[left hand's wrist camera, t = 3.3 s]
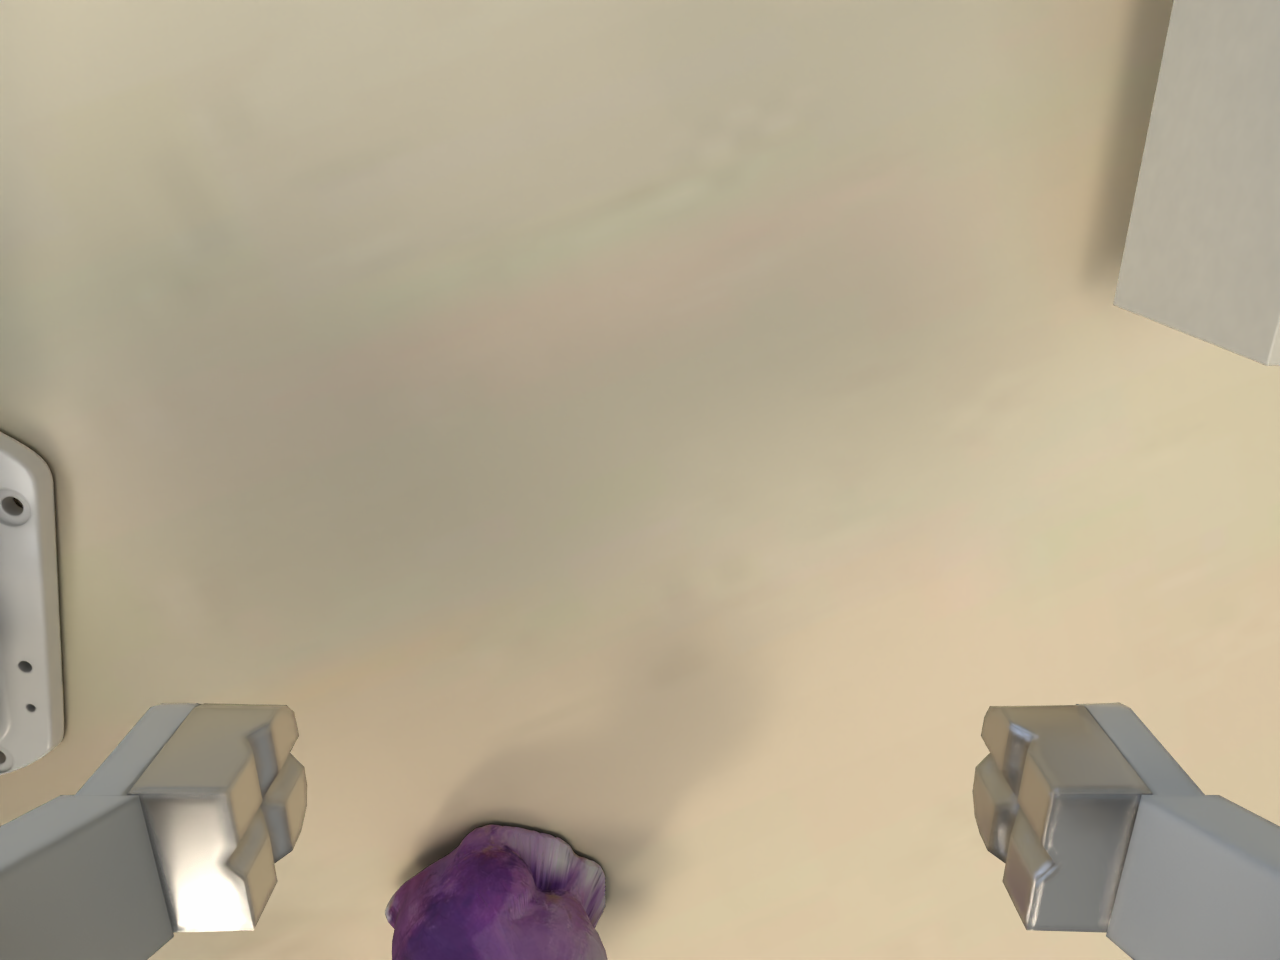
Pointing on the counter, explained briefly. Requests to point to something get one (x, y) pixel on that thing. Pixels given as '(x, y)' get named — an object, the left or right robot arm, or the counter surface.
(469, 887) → the figurine
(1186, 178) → the bar
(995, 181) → the counter surface
